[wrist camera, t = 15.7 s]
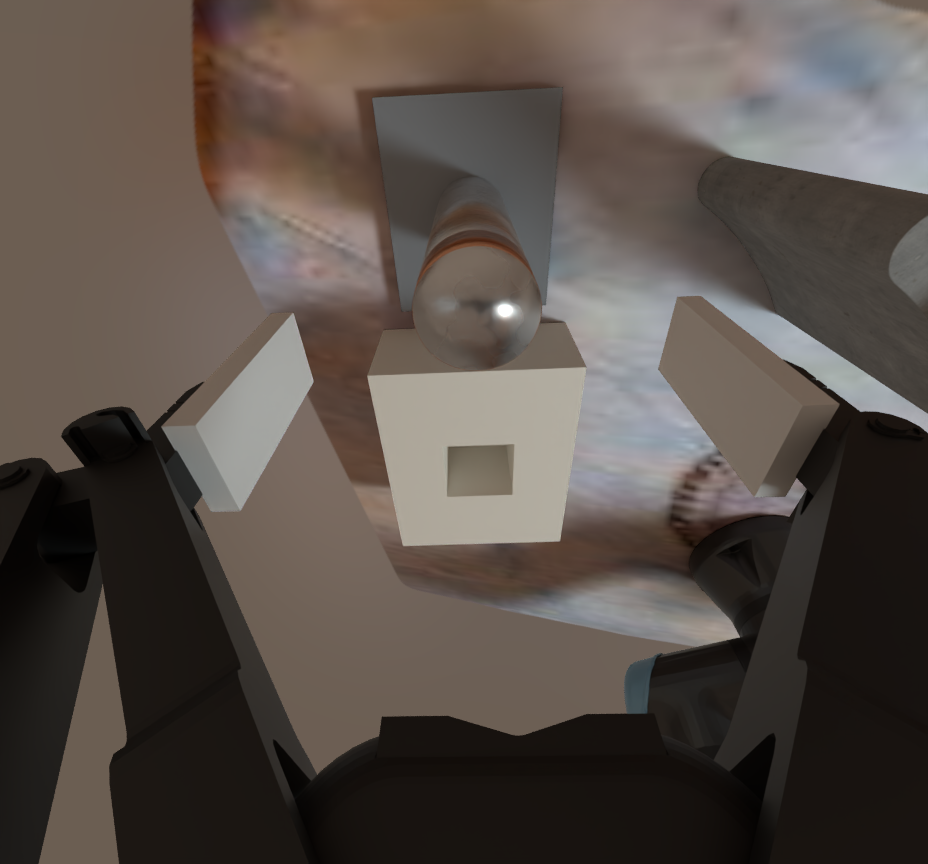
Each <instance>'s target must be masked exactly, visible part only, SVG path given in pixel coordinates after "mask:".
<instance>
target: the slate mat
mask: <svg viewBox="0 0 928 864" xmlns="http://www.w3.org/2000/svg"><path fill="white" fill-rule="evenodd" d="M562 92H563V87H558V88H540V89H522V90H503V91H485V92H467V93H449V94H431V95H412V96H394V97H376V98H372V101H373V108H374V116H375V123H376V130H377V137H378V145H379V152H380V159H381V166H382V174H383V181H384V188H385V195H386V202H387V210H388V217H389V224H390V231H391V239H392V246H393V253H394V260H395V268H396V275H397V282H398V289H399V297H400V304H401V311H412V302H413V296H414V292H415V288H416V284H417V280H418V277H419V273H420V270H421V267H422V263H423V260H424V256H425V252H426V248H427V244H428V240H429V237H430V233H431V229H432V225H433V221H434V217H435V214H436V210H437V206H438V202H439V199H440V197H441V195H442V193H443V192H444V190H445V189H446V188H447V187H448V186H449V185H450V184H451V183H452V182H454V181H455V180H457V179H459V178H462V177H467V176H476V177H480V178H483V179H485V180H487V181H489V182H490V183H492V184H493V185H494V186H495V187H496V188H497V190H498V191H499V193H500V194H501V196H502V199H503V201H504V204H505V206H506V209H507V211H508V214H509V216H510V219H511V221H512V224H513V226H514V229H515V231H516V234H517V236H518V239H519V241H520V244H521V246H522V249H523V251H524V254H525V256H526V259H527V260H528V263H529V265H530V267H531V270H532V272H533V275H534V277H535V280H536V282H537V284H538V287H539V291H540V294H541V301H542V305H546V297H547V284H548V271H549V259H550V246H551V233H552V220H553V207H554V195H555V182H556V169H557V156H558V143H559V131H560V118H561V105H562Z"/></svg>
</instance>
